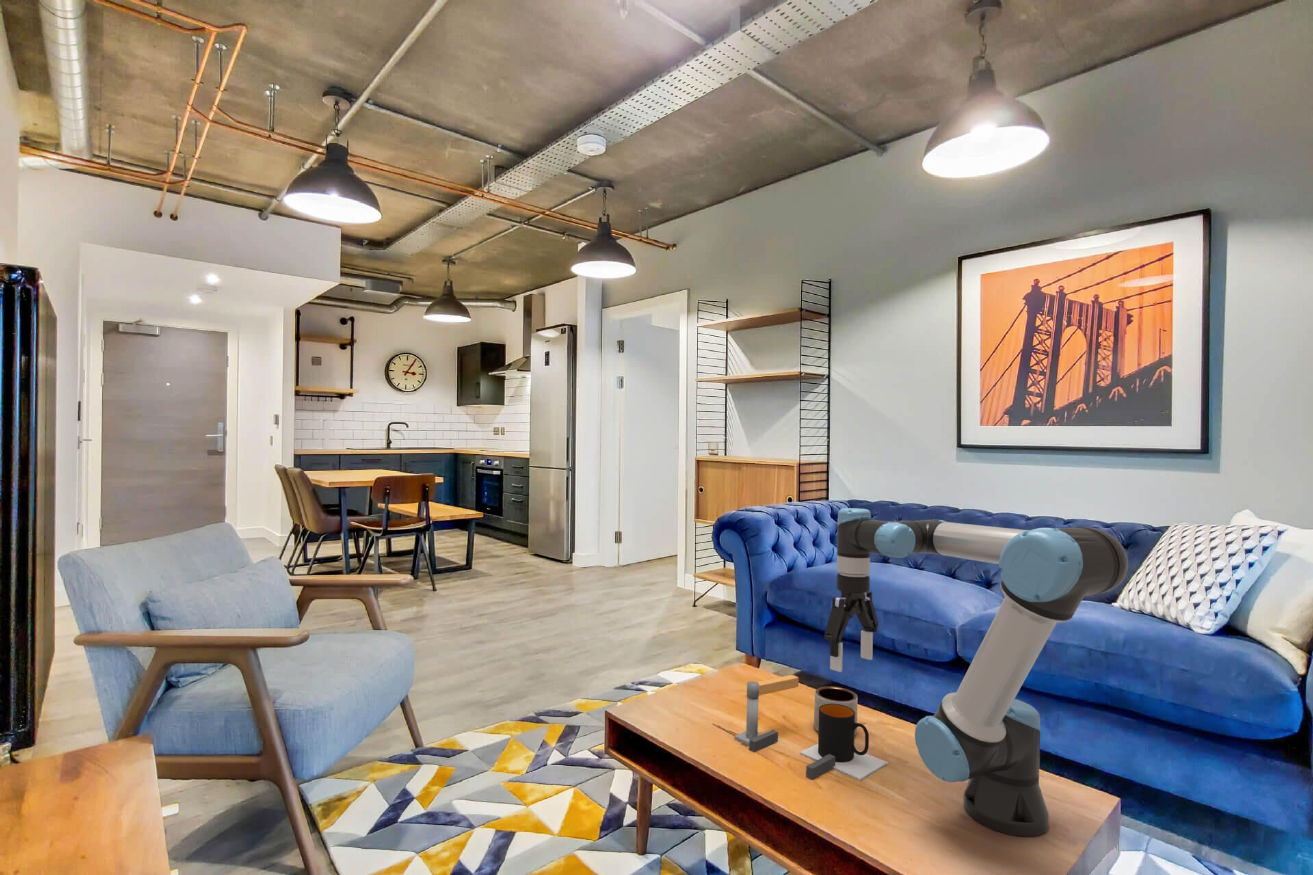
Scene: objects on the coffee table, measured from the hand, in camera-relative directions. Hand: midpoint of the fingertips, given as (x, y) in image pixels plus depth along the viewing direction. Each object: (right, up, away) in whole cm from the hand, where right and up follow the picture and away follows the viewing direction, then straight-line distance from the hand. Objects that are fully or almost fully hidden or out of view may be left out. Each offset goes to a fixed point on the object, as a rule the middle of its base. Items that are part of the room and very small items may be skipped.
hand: (851, 664), depth 154 cm
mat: (-2, -22, 0) cm, 22 cm away
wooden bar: (-17, -11, +12) cm, 23 cm away
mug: (-2, -22, 0) cm, 22 cm away
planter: (0, -23, +15) cm, 27 cm away
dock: (-16, -22, +2) cm, 27 cm away
